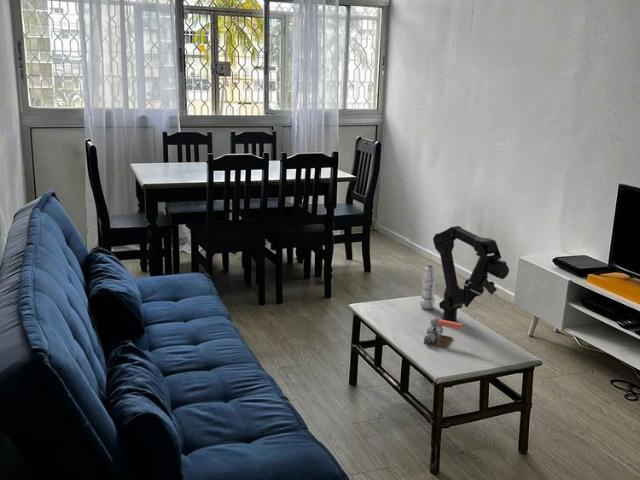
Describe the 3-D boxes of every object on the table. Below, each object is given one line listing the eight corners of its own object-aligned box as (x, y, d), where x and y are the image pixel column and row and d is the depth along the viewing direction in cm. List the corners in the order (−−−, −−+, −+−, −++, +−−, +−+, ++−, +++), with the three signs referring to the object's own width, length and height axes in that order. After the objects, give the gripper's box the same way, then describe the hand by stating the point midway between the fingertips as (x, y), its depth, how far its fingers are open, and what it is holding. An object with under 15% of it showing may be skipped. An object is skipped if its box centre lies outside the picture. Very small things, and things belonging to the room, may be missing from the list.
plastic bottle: (426, 304, 290) (429, 263, 284) (437, 308, 285) (440, 267, 279) (416, 307, 286) (419, 266, 280) (428, 312, 281) (431, 269, 275)
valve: (431, 333, 258) (432, 318, 256) (453, 338, 254) (454, 323, 252) (422, 344, 248) (423, 329, 246) (444, 349, 244) (446, 333, 242)
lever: (431, 322, 252) (432, 316, 251) (462, 328, 246) (463, 322, 246) (429, 324, 249) (429, 319, 248) (460, 331, 244) (461, 325, 243)
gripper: (503, 280, 239) (486, 317, 240) (497, 276, 257) (481, 310, 258) (476, 268, 240) (459, 304, 241) (472, 265, 258) (456, 299, 260)
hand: (465, 305), depth 250 cm, fingers open, 9 cm apart
